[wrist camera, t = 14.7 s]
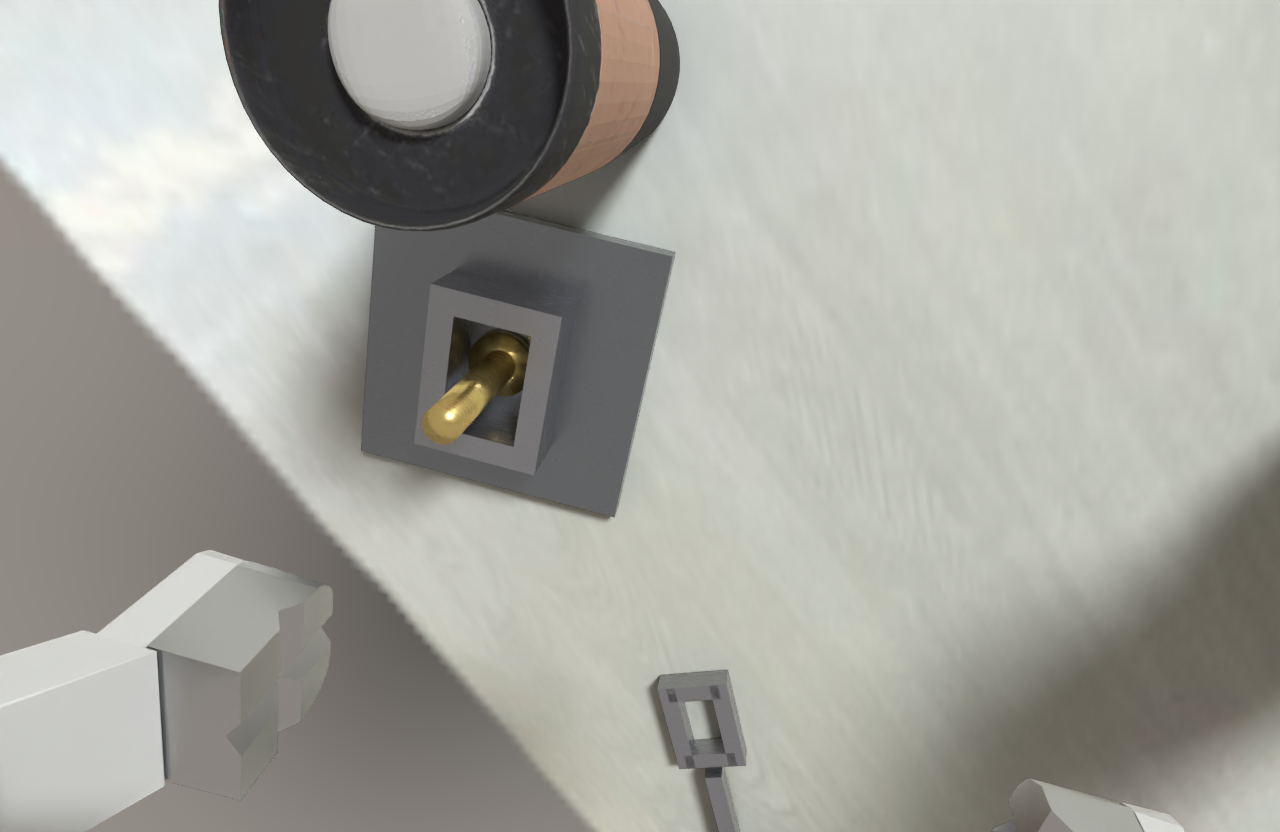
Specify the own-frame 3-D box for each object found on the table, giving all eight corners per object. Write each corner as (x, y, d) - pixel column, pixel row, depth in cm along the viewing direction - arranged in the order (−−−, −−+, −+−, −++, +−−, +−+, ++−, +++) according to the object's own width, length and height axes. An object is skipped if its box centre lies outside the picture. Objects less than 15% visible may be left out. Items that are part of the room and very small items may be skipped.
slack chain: (736, 669, 45) (733, 720, 41) (785, 881, 51) (786, 943, 47) (651, 675, 46) (641, 726, 42) (709, 882, 52) (704, 943, 48)
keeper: (675, 252, 36) (647, 301, 28) (617, 507, 42) (579, 610, 34) (387, 182, 37) (278, 210, 29) (369, 442, 43) (273, 527, 35)
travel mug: (667, 175, 35) (551, 273, 17) (502, 139, 35) (216, 197, 17) (704, -18, 32) (612, -153, 14) (523, -53, 32) (200, -231, 14)
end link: (577, 300, 37) (562, 317, 34) (550, 448, 40) (534, 475, 37) (455, 269, 37) (430, 283, 34) (438, 419, 40) (414, 443, 38)
